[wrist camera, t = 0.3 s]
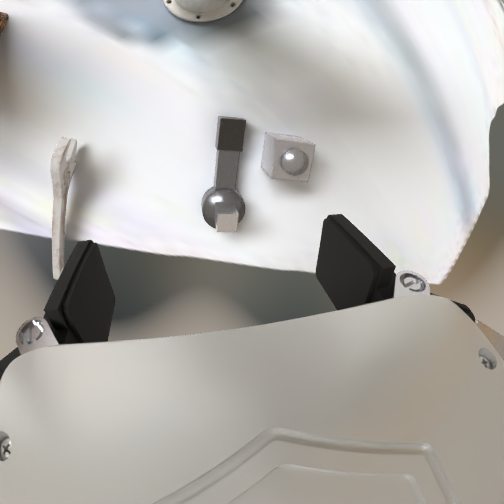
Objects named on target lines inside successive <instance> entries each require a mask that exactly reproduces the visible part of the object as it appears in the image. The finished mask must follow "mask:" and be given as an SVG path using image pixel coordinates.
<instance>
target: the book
mask: <svg viewBox="0 0 504 504" xmlns="http://www.w3.org/2000/svg"><path fill="white" fill-rule="evenodd" d="M7 19H8V15H7V14H6V13H2V12H0V36H1V33H2V31H3V29H4V26H5V24H6V21H7Z"/></svg>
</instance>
